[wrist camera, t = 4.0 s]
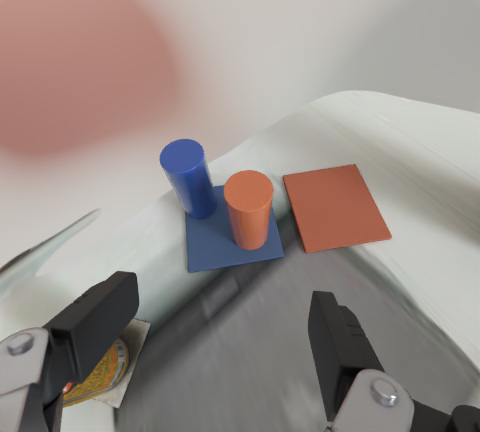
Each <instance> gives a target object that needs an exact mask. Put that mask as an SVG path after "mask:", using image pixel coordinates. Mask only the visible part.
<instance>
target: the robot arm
mask: <svg viewBox="0 0 480 432" xmlns="http://www.w3.org/2000/svg"><path fill="white" fill-rule="evenodd" d="M138 307H139V294H138V284H137V276H136V274H135V273H133V272H123V271H117V272H115V273H114V274H113V275H111V276H110V277H109V278H108V279H107V280H106V281H102V282H100V283H98V284H96V285H94V286H92V287H91V288H89V289H88V290H87V291H86V292H85V293H83V294H82V296H80V297H78V298H77V299H76V300H75V301H74V302H73V303H71V304H70V305H69V306H67V307H66V308H65V309H64V310H63V311H61V312H60V313H59V314H58V315H56V316H55V317H54V318H53V319H51V320H50V321H49V322H48V323H47V324H45V325H44V326H43V327H42V328H29V329H25V330H22V331H19V332H17V333H15V334H12V335H10V336H9V337H7V338H5V339H4V340H2V341H1V342H0V432H60V428H61V418H62V409H63V399H64V393H63V389H64V387H65V386H66V385H67V384H68V383H69V382H71V383H78V384H83V383H84V381H85V380H86V379H87V378H88V376H89V375H90V374H91V372H92V371H93V370H94V368H95V367H96V366H97V365H98V363H99V362H100V361H101V359H102V358H103V357H104V355H105V354H106V353H107V351H108V350H109V349H110V348H111V346H112V345H113V344H114V342H115V341H116V340H117V338H118V337H119V336H120V335H121V333H122V332H123V331H124V329H125V328H126V327H127V325H128V324H129V323H130V321H131V320H132V319H133V318H134V316H135V315H136V313H137V311H138ZM308 334H309V339H310V344H311V348H312V353H313V357H314V362H315V366H316V371H317V376H318V380H319V385H320V389H321V394H322V398H323V403H324V407H325V412H326V416H327V421H329V422H333V423H332V425H331V427H326V428H325V430H324V432H480V409H478V408H476V407H472V406H467V405H460V406H457V407H456V408H454V410H453V412H452V414H451V415H448V414H446V413H443V412H441V411H438V410H436V409H433V408H431V407H429V406H426V405H424V404H421V403H419V402H417V401H415V400H413V399H412V398H411V396H410V394H409V393H408V391H407V390H406V389H405V388H404V387H403V385H401V384H400V383H399V382H398V381H397V380H396V379H394V378H393V377H391V376H390V375H388V374H386V373H385V371H384V369H383V367H382V365H381V364H380V362H379V360H378V358H377V356H376V354H375V352H374V350H373V348H372V346H371V344H370V342H369V340H368V339H367V337H366V335H365V333H364V331H363V329H362V328H361V325H360V323H359V321H358V319H357V317H356V315H354V314H353V313H352V312H351V311H350V310H349V309H348V308H347V307H346V306H339V305H338V303H337V301H336V299H335V297H334V294H333V293H332V292H323V291H313V294H312V300H311V306H310V313H309V319H308Z"/></svg>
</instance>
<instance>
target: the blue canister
mask: <svg viewBox="0 0 480 432" xmlns="http://www.w3.org/2000/svg"><path fill="white" fill-rule="evenodd" d="M160 163H161V165H162V168H163V169H164V171H165V173H166V175H167V177H168V179H169V181H170V183H171V184H172V186H173V188H174V190H175V192H176V194H177V196H178V198H179V200H180V202H181V203H182V205H183V207H184V209H185V211H186V213H187V214H188V215H189V216H190V217H192V218H194V219H205V218H208V217H209V216H211V215H212V214H213V213H214V212H215V210H216V208H217V199H216V195H215V191H214V188H213V184H212V180H211V176H210V172H209V169H208V165H207V161H206V157H205V154H204V150H203V148H202V146H201V145H200V144H199V143H198V142H196V141H194V140H190V139H181V140H177V141H174V142H172V143H170V144H168V145H167V146H166V147H165V148H164V149H163V150H162V152H161V155H160Z"/></svg>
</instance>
